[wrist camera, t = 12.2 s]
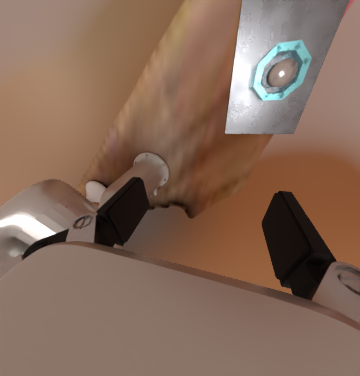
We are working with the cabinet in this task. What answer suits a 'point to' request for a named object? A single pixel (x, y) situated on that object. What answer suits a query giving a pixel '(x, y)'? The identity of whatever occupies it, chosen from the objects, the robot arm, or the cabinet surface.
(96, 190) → the flower in vase
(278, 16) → the metal plate with knob
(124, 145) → the cabinet surface
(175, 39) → the cabinet surface
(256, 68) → the ring
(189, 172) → the cabinet surface
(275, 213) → the robot arm
